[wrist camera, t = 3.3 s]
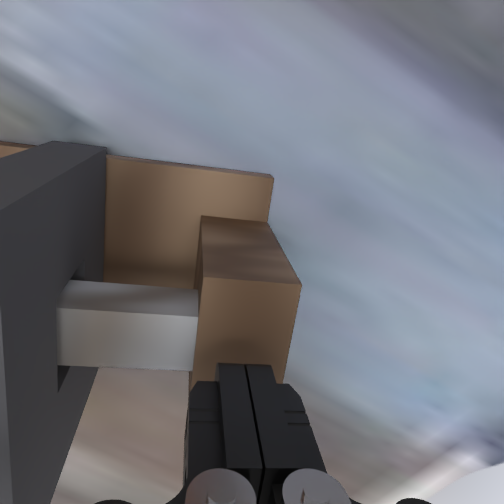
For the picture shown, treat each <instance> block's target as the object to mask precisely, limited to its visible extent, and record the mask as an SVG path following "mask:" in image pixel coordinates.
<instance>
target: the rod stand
mask: <svg viewBox="0 0 504 504" xmlns="http://www.w3.org/2000/svg"><path fill="white" fill-rule="evenodd" d="M33 147H36V146H34V145H26V144H18V143H10V142H2V141H0V158H2V157H5V156H8V155H11V154H14V153H17V152H20V151H23V150H26V149H30V148H33ZM273 182H274V178H273V177H272V176H271V175H270V174H262V173H254V172H246V171H238V170H230V169H221V168H213V167H205V166H197V165H189V164H181V163H173V162H164V161H156V160H148V159H140V158H132V157H124V156H116V155H108V154H106V188H105V226H104V265H103V282H92V281H78V280H69V282H68V283H67V285H66V286H65V287H64V289H63V290H62V292H61V293H60V295H59V296H58V298H57V299H56V309H57V365H65V366H88V367H111V368H134V369H157V370H180V371H189V393H190V391H191V390H192V388H193V387H194V385H195V384H196V382H197V381H214V378H215V370H216V364H217V362H218V363H241V364H266V365H271V366H272V369H273V373H274V376H275V380H276V383H278V384H283V378H284V373H285V368H286V363H287V358H288V353H289V348H290V343H291V338H292V333H293V328H294V323H295V318H296V313H297V308H298V303H299V298H300V292H301V287H302V284H301V282H300V280H299V279H298V277H297V275H296V273H295V271H294V270H293V268H292V266H291V264H290V262H289V261H288V259H287V257H286V255H285V253H284V252H283V250H282V248H281V246H280V244H279V243H278V241H277V239H276V237H275V235H274V234H273V232H272V230H271V228H270V226H269V225H268V223H267V220H268V214H269V208H270V201H271V195H272V189H273ZM188 401H189V398H188Z"/></svg>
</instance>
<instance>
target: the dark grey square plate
mask: <svg viewBox="0 0 504 504" xmlns="http://www.w3.org/2000/svg"><path fill="white" fill-rule="evenodd" d="M106 150H107V148H106V147H98V146H90V145H82V144H74V143H67V142H59V141H51V142H48V143H45V144H42V145H39V146H36V147H33V148H30V149H26V150H23V151H20V152H17V153H14V154H11V155H8V156H5V157H2V158H0V504H50V502H51V499H52V497H53V494H54V491H55V488H56V485H57V483H58V480H59V477H60V474H61V472H62V469H63V466H64V463H65V460H66V458H67V455H68V452H69V449H70V446H71V444H72V441H73V438H74V435H75V432H76V430H77V427H78V424H79V421H80V418H81V416H82V413H83V410H84V407H85V404H86V402H87V399H88V396H89V393H90V390H91V388H92V385H93V382H94V379H95V376H96V374H97V371H98V368H99V367H88V366H65V365H57V309H56V299H57V298H58V296H59V295H60V293H61V292H62V290H63V289H64V287H65V286H66V285H67V283H68V282H69V280H78V281H92V282H103V265H104V226H105V188H106Z"/></svg>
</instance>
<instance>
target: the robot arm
mask: <svg viewBox="0 0 504 504" xmlns="http://www.w3.org/2000/svg"><path fill="white" fill-rule="evenodd" d="M95 504H131V503H129V502H126V501H122V500H105V501H101V502H97V503H95ZM166 504H361V503H358V502H356V501H354V500H352V499H350V498H349V497H348V495H347V493H346V491H345V489H344V488H343V487H342V485H341V484H340V483H339V482H338V481H337V480H336V479H334V478H333V477H332V476H330V475H329V474H327V471H326V469H325V466H324V463H323V460H322V457H321V454H320V451H319V448H318V446H317V443H316V440H315V437H314V434H313V431H312V428H311V426H310V423H309V420H308V417H307V414H305V408H304V405H303V403H302V400H301V397H300V396H299V394H298V393H297V392H296V391H295V390H294V389H293V388H292V387H291V386H290V385H289V384H278V383H276V380H275V376H274V373H273V369H272V366H271V365H266V364H241V363H218V362H217V364H216V370H215V378H214V381H197V382H196V384H195V385H194V387H193V388H192V390H191V391H190V393H189V401H188V410H187V419H186V429H185V438H184V471H183V488H182V490H181V491H180V493H179V494H178V495H177V496H176V497H175V498H173V499H172V500H171V501H169V502H168V503H166ZM396 504H431V503H429V502H427V501H424V500H420V499H415V498H406V499H402V500H400V501H398V502H397V503H396Z"/></svg>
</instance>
